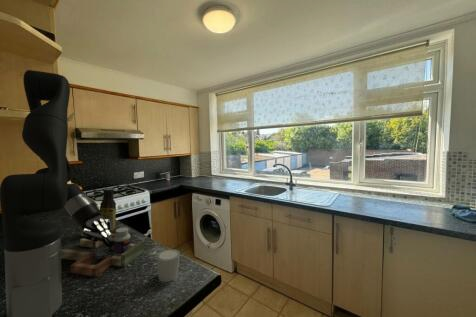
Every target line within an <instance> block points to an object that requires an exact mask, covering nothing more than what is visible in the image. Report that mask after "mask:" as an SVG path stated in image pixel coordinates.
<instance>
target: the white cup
mask: <svg viewBox="0 0 476 317" xmlns="http://www.w3.org/2000/svg"><path fill="white" fill-rule="evenodd" d="M180 257H181V252H180V251H179V250H178V249H175V248H174V249H173V248H169V249H164V250H161V251H160V252H159V253H157V255H156V263H157V272H158V280H159V281H160V282H161V283H162V282H163V283H169V282H173V281H174V280H175V279H177V278H178V276H179V275H178V273H179V265H180Z"/></svg>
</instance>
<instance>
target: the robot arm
mask: <svg viewBox="0 0 476 317" xmlns="http://www.w3.org/2000/svg"><path fill="white" fill-rule="evenodd" d="M22 81H23V89H24V94H25V97H26V102H27V105H28V108H29V113H28V114H27V115H26V117H24V122H23V127H22V132H21V138H22V141H23V142H24V144H25V145H26V146H27V147H28V148H29V149H30V150H31V152H32V153H34V154H35V155H36V156H38V157H39V159H40V160H41V161H42V162H44V164H45V165H46V167H44V168H39V169H37V170H36V171H35V172H34V173H23V174H22V173H18V174H9V175H6V176H5V177H4V178H3V179H2V181H1V184H0V211H1V212H0V213H1V219H2V220H1V221H2V232H3V233H2V234H3V246H4V247H3V250H4V273H5V274H4V276H5V277H4V279H5V280H4V281H5V300H6V301H5V304H6V317H53V315H54V314H55V313H56V312H57V311H58V310H59V309H60V307H61V306H62V304H63V292H62V291H63V289H62V288H63V287H62V284H63V283H62V280H63V279H62V259H61V249H62V237H61V236H62V235H61V234H62V230H61V226H60V225H59V224H57V223H53V222H47V221H40V220H37V219H33V218H30V217H29V216H28V215H36V214H43V213H50V212H57V211H60V210H62V209H64V208H65V210H66V212H67V213H68V215H70V217H71V218H72V220H74V222H75V223H76V224H77V225H78V226H79V227H81V230H82V232H81V234H79V237H80V238H81V239H83V238H84V239H88V240H91V241H94V242H97V241H102V242H103V244H104V245H105V247H107V248H108V249H110V248H111V247H112V246H113V237H112V236H111V234H113V232H114V231H113V219H111V218H110V219H109V220H108V219H105V218H104V217H103V216H101V211H100V208H99V207H98V206H97V205H96V204H95V203H94V201H92V199H91V198H90V197H89V196H88V195H87V194H85V192H84V191H83V190H82V189H81V187H80V186H79V185H78V184H76V183H69V182H71V180H72V179H73V176H74V172H73V169H72V166H71V164H70V162H69V160H68V157H67V148H68V147H67V146H68V136H69V135H68V134H69V133H68V132H69V130H68V128H69V124H68V123H69V122H68V108H69V102H70V95H71V86H70V83H69V80H68V78H67V77H66V76H65V75H61V74H59V73H52V72H46V71H40V70H39V71H38V70H35V69H34V70H33V69H29V70H26V71H25V72H23V80H22ZM42 101H46V102H45V103H44V104H42Z"/></svg>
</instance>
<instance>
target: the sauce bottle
mask: <svg viewBox="0 0 476 317" xmlns="http://www.w3.org/2000/svg"><path fill="white" fill-rule="evenodd" d="M102 192H103V193H102V194H103V198H102V201H101V202H100V205H99V210H100V211H101V216H103V217H104V218H105V219H108V220H109V219H110V218H111V219H113V232H114V231H116V230H115V229H116V216H117V215H116V214H117V213H116V212H117V208H116V207H117V206H116V205H117V203H116V201H115V199H114V192H115V189H114V188H112V187H109V188H108V187H107V188H103V191H102Z"/></svg>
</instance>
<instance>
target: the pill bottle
mask: <svg viewBox="0 0 476 317" xmlns="http://www.w3.org/2000/svg"><path fill="white" fill-rule="evenodd" d="M115 234H116V236H115V237H114V238H113V250H112V252H113V255H114V256H121V254H123V253H124V252H125V251H127V250H128V249H129V248H130V244H131V234H130V233H129V228H128V227H120V228H117V229H116V230H115Z"/></svg>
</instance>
